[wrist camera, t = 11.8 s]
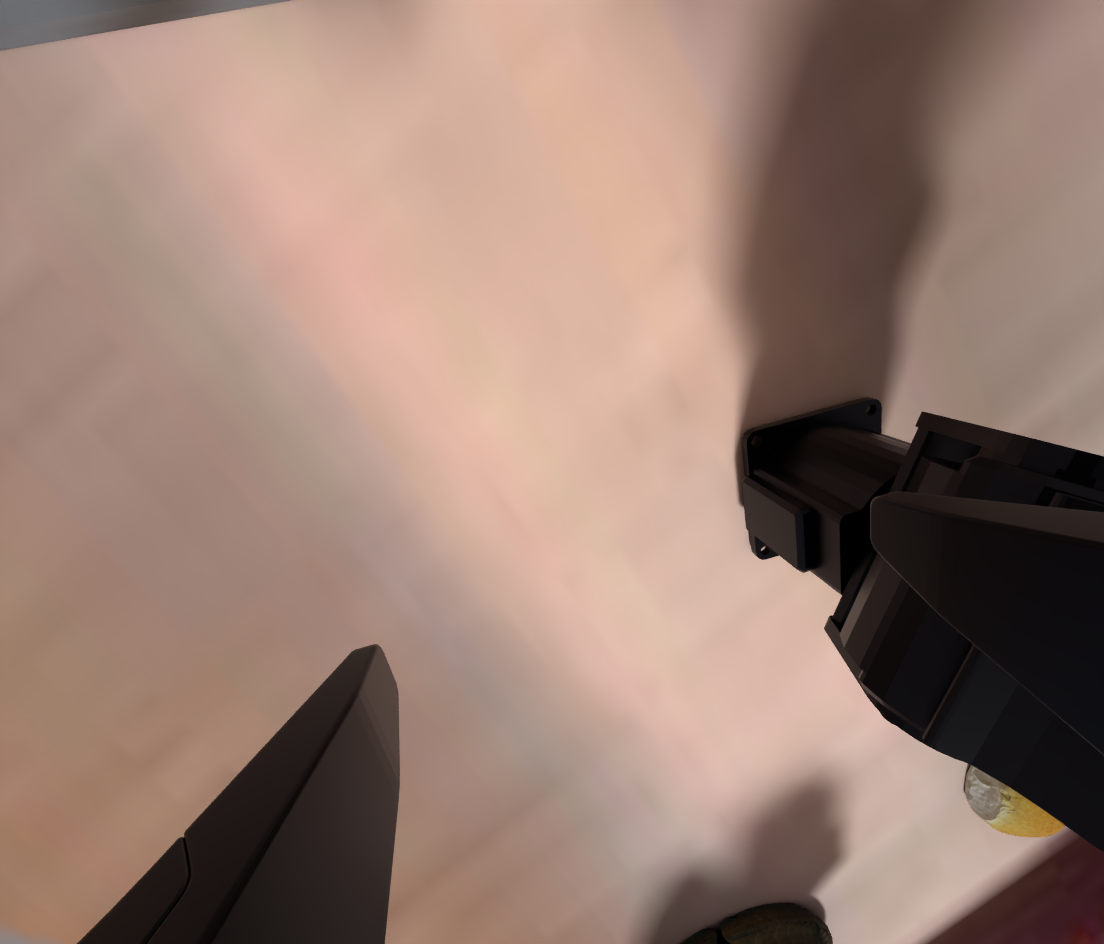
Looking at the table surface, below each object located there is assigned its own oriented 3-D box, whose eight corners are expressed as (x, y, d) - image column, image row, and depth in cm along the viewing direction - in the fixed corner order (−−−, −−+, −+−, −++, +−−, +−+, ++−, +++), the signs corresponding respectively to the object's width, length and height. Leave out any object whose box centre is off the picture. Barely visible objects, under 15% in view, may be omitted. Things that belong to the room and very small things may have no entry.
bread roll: (1062, 783, 37) (1131, 839, 33) (951, 815, 36) (1010, 876, 32) (1092, 691, 34) (1171, 740, 30) (972, 722, 33) (1039, 777, 29)
